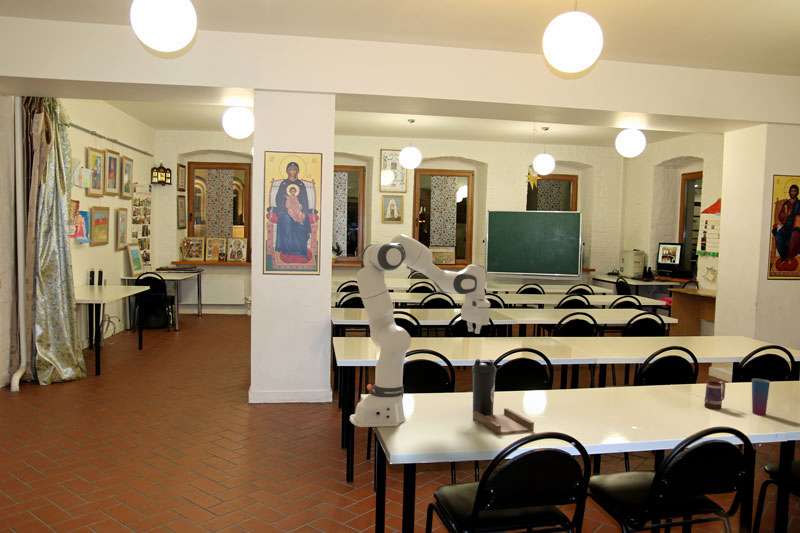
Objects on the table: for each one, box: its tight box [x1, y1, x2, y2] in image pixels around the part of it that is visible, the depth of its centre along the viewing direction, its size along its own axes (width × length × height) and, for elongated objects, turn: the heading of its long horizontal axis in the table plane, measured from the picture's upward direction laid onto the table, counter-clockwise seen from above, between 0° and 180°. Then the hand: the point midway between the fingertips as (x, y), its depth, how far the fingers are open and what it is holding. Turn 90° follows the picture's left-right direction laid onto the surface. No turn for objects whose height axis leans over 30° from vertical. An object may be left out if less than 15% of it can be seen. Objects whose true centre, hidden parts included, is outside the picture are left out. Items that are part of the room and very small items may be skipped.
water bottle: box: [471, 358, 497, 416], centre depth 244 cm, size 10×10×23 cm
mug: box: [704, 380, 726, 411], centre depth 263 cm, size 10×7×12 cm
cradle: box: [472, 407, 535, 436], centre depth 228 cm, size 16×20×4 cm
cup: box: [751, 378, 771, 416], centre depth 254 cm, size 7×7×15 cm
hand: (473, 332), depth 253 cm, fingers open, 5 cm apart
